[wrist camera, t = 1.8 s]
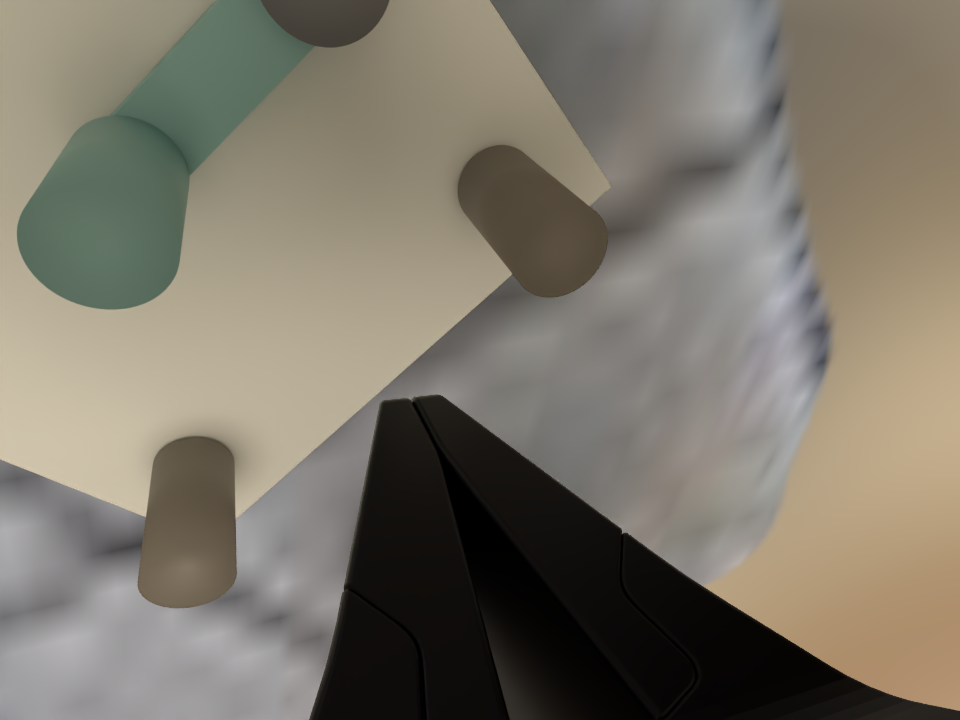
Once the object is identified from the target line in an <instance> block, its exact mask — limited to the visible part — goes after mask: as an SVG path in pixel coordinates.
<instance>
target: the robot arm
mask: <svg viewBox="0 0 960 720" xmlns="http://www.w3.org/2000/svg"><path fill="white" fill-rule="evenodd" d="M309 720H960V711H957V710H952V709H947V708H942V707H937V706H932V705H927V704H923V703H918V702H914V701H910V700H906V699H902V698H899V697H896V696H893V695H890V694H887V693H884V692H882V691H880V690H877V689H875V688H872V687H870V686H867V685H865V684H863V683H861V682H859V681H857V680H855V679H853V678H851V677H849V676H847V675H845V674H843V673H841V672H840V671H838V670H836V669H835V668H833V667H831V666H830V665H828V664H826V663H825V662H823V661H821V660H820V659H818V658H817V657H815V656H813V655H812V654H810V653H809V652H807V651H805V650H804V649H802V648H800V647H799V646H797V645H796V644H794V643H792V642H791V641H789V640H788V639H786V638H784V637H783V636H781V635H779V634H778V633H776V632H775V631H773V630H771V629H770V628H768V627H766V626H765V625H763V624H762V623H760V622H758V621H757V620H755V619H753V618H752V617H750V616H749V615H747V614H745V613H744V612H742V611H741V610H739V609H738V608H736V607H734V606H733V605H731V604H729V603H728V602H726V601H725V600H723V599H722V598H720V597H719V596H717V595H715V594H714V593H712V592H711V591H709V590H708V589H706V588H705V587H703V586H702V585H700V584H698V583H697V582H695V581H694V580H692V579H691V578H689V577H688V576H686V575H685V574H683V573H682V572H680V571H679V570H678V569H676V568H675V567H673V566H672V565H671V564H669V563H668V562H666V561H665V560H664V559H662V558H661V557H659V556H658V555H656V554H655V553H654V552H652V551H651V550H649V549H648V548H647V547H645V546H644V545H643V544H641V543H640V542H639V541H637V540H636V539H635V538H633V537H632V536H631V535H629V534H628V533H623V534H622V530H621V528H619V527H618V526H617V525H615V524H614V523H613V522H611V521H610V520H609V519H607V518H606V517H605V516H603V515H602V514H601V513H599V512H598V511H597V510H595V509H594V508H592V507H591V506H590V505H588V504H587V503H586V502H584V501H583V500H582V499H580V498H579V497H578V496H576V495H575V494H574V493H572V492H571V491H570V490H568V489H567V488H566V487H564V486H563V485H562V484H560V483H559V482H557V481H556V480H555V479H553V478H552V477H551V476H549V475H548V474H547V473H545V472H544V471H543V470H541V469H540V468H539V467H537V466H536V465H535V464H533V463H532V462H531V461H529V460H528V459H527V458H525V457H524V456H522V455H521V454H520V453H518V452H517V451H516V450H514V449H513V448H512V447H510V446H509V445H508V444H506V443H505V442H504V441H502V440H501V439H500V438H498V437H497V436H496V435H494V434H493V433H491V432H490V431H489V430H487V429H486V428H485V427H483V426H482V425H481V424H479V423H478V422H477V421H475V420H474V419H473V418H471V417H470V416H469V415H467V414H466V413H465V412H463V411H462V410H461V409H459V408H458V407H456V406H455V405H454V404H452V403H451V402H450V401H448V400H447V399H446V398H444V397H443V396H441V395H428V396H419V397H414V398H413V399H412V400H410V399H408V398H401V399H392V400H384V401H382V402H381V403H380V406H379V411H378V416H377V421H376V426H375V431H374V436H373V441H372V446H371V452H370V457H369V462H368V467H367V472H366V477H365V482H364V487H363V492H362V497H361V502H360V508H359V513H358V518H357V523H356V528H355V533H354V538H353V543H352V548H351V553H350V558H349V564H348V569H347V574H346V579H345V584H344V592H343V593H342V597H341V602H340V607H339V612H338V618H337V623H336V627H335V631H334V635H333V639H332V644H331V648H330V652H329V656H328V660H327V665H326V668H325V671H324V674H323V677H322V681H321V684H320V687H319V690H318V693H317V697H316V700H315V703H314V706H313V709H312V712H311V716H310V719H309Z"/></svg>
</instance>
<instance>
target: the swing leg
mask: <svg viewBox="0 0 960 720" xmlns="http://www.w3.org/2000/svg"><path fill="white" fill-rule="evenodd" d="M388 3H389V0H215V1H214V2H213V3H212V4H211V5H210V6H209V8H208V9H207V10H206V11H205V12H204V13H203V14H202V15H201V16H200V17H199V18H198V20H197V21H196V22H195V23H194V24H193V25H192V26H191V27H190V28H189V29H188V30H187V32H186V33H185V34H184V35H183V36H182V37H181V38H180V39H179V40H178V41H177V43H176V44H175V45H174V46H173V47H172V48H171V49H170V50H169V51H168V52H167V53H166V55H165V56H164V57H163V58H162V59H161V60H160V61H159V62H158V63H157V64H156V65H155V67H154V68H153V69H152V70H151V71H150V72H149V73H148V74H147V75H146V76H145V77H144V79H143V80H142V81H141V82H140V83H139V84H138V85H137V86H136V87H135V88H134V89H133V91H132V92H131V93H130V94H129V95H128V96H127V97H126V98H125V99H124V100H123V101H122V103H121V104H120V105H119V106H118V107H117V108H116V109H115V110H114V111H113V112H112V113H111V115H110V116H105V117H100V118H96V119H93V120H91V121H89V122H87V123H85V124H84V125H82V126H81V127H80V128H79V129H78V130H77V131H76V132H75V133H74V134H73V136H72V137H71V138H70V140H69V141H68V143H67V144H66V146H65V147H64V149H63V150H62V152H61V153H60V155H59V156H58V158H57V159H56V161H55V162H54V164H53V165H52V167H51V168H50V170H49V171H48V173H47V174H46V176H45V177H44V179H43V180H42V182H41V183H40V185H39V186H38V188H37V189H36V191H35V192H34V194H33V195H32V197H31V198H30V200H29V201H28V203H27V204H26V206H25V207H24V209H23V211H22V213H21V215H20V218H19V221H18V225H17V243H18V247H19V251H20V254H21V256H22V259H23V260H24V262H25V264H26V266H27V267H28V269H29V270H30V271H31V273H32V274H33V275H34V276H35V277H36V278H37V279H38V280H39V281H40V282H41V283H42V284H43V285H44V286H45V287H47V288H48V289H49V290H51V291H52V292H54V293H55V294H57V295H59V296H60V297H62V298H64V299H66V300H69V301H71V302H74V303H76V304H79V305H83V306H86V307H91V308H96V309H106V310H118V309H127V308H132V307H136V306H139V305H142V304H145V303H147V302H149V301H151V300H153V299H154V298H156V297H157V296H159V295H160V294H161V293H163V292H164V291H165V290H166V289H167V288H168V286H169V285H170V284H171V283H172V281H173V279H174V278H175V276H176V273H177V271H178V267H179V263H180V255H181V247H182V239H183V231H184V223H185V215H186V207H187V199H188V191H189V181H190V179H189V176H190V175H191V174H192V173H193V172H194V171H195V170H196V169H197V168H198V167H199V166H200V165H201V164H202V163H203V162H204V161H205V159H206V158H207V157H208V156H209V155H210V154H211V153H212V152H213V151H214V150H215V149H216V148H217V147H218V146H219V145H220V144H221V143H222V142H223V141H224V140H225V139H226V138H227V137H228V136H229V135H230V134H231V133H232V132H233V131H234V129H235V128H236V127H237V126H238V125H239V124H240V123H241V122H242V121H243V120H244V119H245V118H246V117H247V116H248V115H249V114H250V113H251V112H252V111H253V110H254V109H255V108H256V107H257V106H258V105H259V104H260V103H261V102H262V101H263V99H264V98H265V97H266V96H267V95H268V94H269V93H270V92H271V91H272V90H273V89H274V88H275V87H276V86H277V85H278V84H279V83H280V82H281V81H282V80H283V79H284V78H285V77H286V76H287V75H288V74H289V73H290V72H291V71H292V70H293V68H294V67H295V66H296V65H297V64H298V63H299V62H300V61H301V60H302V59H303V58H304V57H305V56H306V55H307V54H308V53H309V52H310V51H311V50H312V49H313V48H314V47H315V46H318V47H325V48H335V47H342V46H346V45H349V44H352V43H354V42H356V41H358V40H360V39H362V38H363V37H365V36H366V35H367V34H368V33H369V32H371V31H372V30H373V29H374V27H375V26H376V25H377V24H378V23H379V21H380V20H381V18H382V16H383V15H384V13H385V11H386V8H387V6H388Z"/></svg>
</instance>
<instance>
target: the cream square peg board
mask: <svg viewBox="0 0 960 720" xmlns="http://www.w3.org/2000/svg"><path fill="white" fill-rule="evenodd" d="M214 1H215V0H0V459H1V460H3V461H6V462H8V463H11V464H13V465H16V466H18V467H21V468H23V469H26V470H28V471H31V472H33V473H36V474H38V475H41V476H44V477H46V478H49V479H51V480H54V481H56V482H59V483H61V484H64V485H66V486H69V487H71V488H74V489H76V490H79V491H81V492H84V493H86V494H89V495H91V496H94V497H96V498H99V499H102V500H104V501H107V502H109V503H112V504H114V505H117V506H119V507H122V508H124V509H127V510H129V511H132V512H134V513H137V514H139V515H142V516H144V517H146V521H145V528H144V536H143V544H142V552H141V560H140V568H139V575H138V589H139V591H140V593H141V595H142V596H143V597H144V598H145V599H147V600H148V601H150V602H152V603H153V604H156V605H159V606H163V607H169V608H189V607H195V606H199V605H203V604H206V603H209V602H211V601H213V600H215V599H217V598H219V597H220V596H222V595H223V594H225V593H226V592H227V591H228V590H229V589H230V588H231V587H232V585H233V584H234V582H235V579H236V575H237V568H236V519H237V518H238V517H239V516H240V515H241V514H242V513H243V512H244V511H246V510H247V509H248V508H249V507H250V506H251V505H252V504H253V503H255V502H256V501H257V500H258V499H259V498H260V497H261V496H263V495H264V494H265V493H266V492H267V491H268V490H269V489H270V488H272V487H273V486H274V485H275V484H276V483H277V482H278V481H279V480H281V479H282V478H283V477H284V476H285V475H286V474H287V473H289V472H290V471H291V470H292V469H293V468H294V467H295V466H296V465H298V464H299V463H300V462H301V461H302V460H303V459H304V458H305V457H307V456H308V455H309V454H310V453H311V452H312V451H313V450H315V449H316V448H317V447H318V446H319V445H320V444H321V443H322V442H324V441H325V440H326V439H327V438H328V437H329V436H330V435H331V434H333V433H334V432H335V431H336V430H337V429H338V428H339V427H340V426H342V425H343V424H344V423H345V422H346V421H347V420H348V419H350V418H351V417H352V416H353V415H354V414H355V413H356V412H357V411H359V410H360V409H361V408H362V407H363V406H364V405H365V404H366V403H368V402H369V401H370V400H371V399H372V398H373V397H374V396H376V395H377V394H378V393H379V392H380V391H381V390H382V389H383V388H385V387H386V386H387V385H388V384H389V383H390V382H391V381H392V380H394V379H395V378H396V377H397V376H398V375H399V374H400V373H401V372H403V371H404V370H405V369H406V368H407V367H408V366H409V365H411V364H412V363H413V362H414V361H415V360H416V359H417V358H418V357H420V356H421V355H422V354H423V353H424V352H425V351H426V350H427V349H429V348H430V347H431V346H432V345H433V344H434V343H435V342H437V341H438V340H439V339H440V338H441V337H442V336H443V335H444V334H446V333H447V332H448V331H449V330H450V329H451V328H452V327H453V326H455V325H456V324H457V323H458V322H459V321H460V320H461V319H462V318H464V317H465V316H466V315H467V314H468V313H469V312H470V311H472V310H473V309H474V308H475V307H476V306H477V305H478V304H479V303H481V302H482V301H483V300H484V299H485V298H486V297H487V296H488V295H490V294H491V293H492V292H493V291H494V290H495V289H496V288H498V287H499V286H500V285H501V284H502V283H503V282H504V281H505V280H507V279H508V278H509V277H510V276H511V275H512V274H513V275H514V277H515V278H516V279H517V280H518V282H519V283H520V284H521V285H522V287H523V288H525V289H526V290H527V291H528V292H530V293H532V294H534V295H537V296H540V297H559V296H563V295H566V294H569V293H571V292H573V291H575V290H577V289H578V288H580V287H581V286H582V285H584V284H585V283H586V282H587V281H588V280H589V279H590V278H591V277H592V276H593V275H594V274H595V272H596V271H597V270H598V268H599V266H600V265H601V263H602V261H603V258H604V256H605V252H606V248H607V230H606V226H605V224H604V221H603V220H602V218H601V217H600V215H599V214H598V213H597V212H596V211H595V210H593V209H592V208H591V207H590V205H591V204H592V203H594V202H595V201H596V200H597V199H598V198H599V197H600V196H601V195H603V194H604V193H605V192H606V191H607V190H608V189H609V188H610V187H611V185H610V184H609V182H608V180H607V179H606V177H605V176H604V174H603V173H602V171H601V170H600V168H599V167H598V165H597V164H596V162H595V161H594V159H593V158H592V156H591V154H590V153H589V151H588V150H587V148H586V147H585V145H584V144H583V142H582V141H581V139H580V138H579V136H578V135H577V133H576V132H575V130H574V128H573V127H572V125H571V124H570V122H569V121H568V119H567V118H566V116H565V115H564V113H563V112H562V110H561V109H560V107H559V106H558V104H557V102H556V101H555V99H554V98H553V96H552V95H551V93H550V92H549V90H548V89H547V87H546V86H545V84H544V83H543V81H542V80H541V78H540V76H539V75H538V73H537V72H536V70H535V69H534V67H533V66H532V64H531V63H530V61H529V60H528V58H527V57H526V55H525V54H524V52H523V50H522V49H521V47H520V46H519V44H518V43H517V41H516V40H515V38H514V37H513V35H512V34H511V32H510V31H509V29H508V28H507V26H506V24H505V23H504V21H503V20H502V18H501V17H500V15H499V14H498V12H497V11H496V9H495V8H494V6H493V5H492V3H491V2H490V0H389V3H388V6H387V8H386V11H385V13H384V15H383V16H382V18H381V20H380V21H379V23H378V24H377V25H376V26H375V27H374V29H373V30H372V31H371V32H369V33H368V34H367V35H366V36H365V37H363V38H362V39H360V40H358V41H356V42H354V43H352V44H349V45H346V46H342V47H335V48H325V47H318V46H315V47H314V48H313V49H312V50H311V51H310V52H309V53H308V54H307V55H306V56H305V57H304V58H303V59H302V60H301V61H300V62H299V63H298V64H297V65H296V66H295V67H294V68H293V70H292V71H291V72H290V73H289V74H288V75H287V76H286V77H285V78H284V79H283V80H282V81H281V82H280V83H279V84H278V85H277V86H276V87H275V88H274V89H273V90H272V91H271V92H270V93H269V94H268V95H267V96H266V97H265V98H264V99H263V101H262V102H261V103H260V104H259V105H258V106H257V107H256V108H255V109H254V110H253V111H252V112H251V113H250V114H249V115H248V116H247V117H246V118H245V119H244V120H243V121H242V122H241V123H240V124H239V125H238V126H237V127H236V128H235V129H234V131H233V132H232V133H231V134H230V135H229V136H228V137H227V138H226V139H225V140H224V141H223V142H222V143H221V144H220V145H219V146H218V147H217V148H216V149H215V150H214V151H213V152H212V153H211V154H210V155H209V156H208V157H207V158H206V159H205V161H204V162H203V163H202V164H201V165H200V166H199V167H198V168H197V169H196V170H195V171H194V172H193V173H192V174H191V175H190V176H189V179H190V181H189V191H188V199H187V207H186V215H185V223H184V231H183V239H182V247H181V255H180V263H179V267H178V271H177V273H176V276H175V278H174V279H173V281H172V283H171V284H170V285H169V286H168V288H167V289H166V290H165V291H164V292H163V293H161V294H160V295H159V296H157V297H156V298H154V299H153V300H151V301H149V302H147V303H145V304H142V305H139V306H136V307H132V308H127V309H118V310H106V309H96V308H91V307H86V306H83V305H79V304H76V303H74V302H71V301H69V300H66V299H64V298H62V297H60V296H59V295H57V294H55V293H54V292H52V291H51V290H49V289H48V288H47V287H45V286H44V285H43V284H42V283H41V282H40V281H39V280H38V279H37V278H36V277H35V276H34V275H33V274H32V273H31V271H30V270H29V269H28V267H27V266H26V264H25V262H24V260H23V259H22V256H21V254H20V251H19V247H18V243H17V225H18V221H19V218H20V215H21V213H22V211H23V209H24V207H25V206H26V204H27V203H28V201H29V200H30V198H31V197H32V195H33V194H34V192H35V191H36V189H37V188H38V186H39V185H40V183H41V182H42V180H43V179H44V177H45V176H46V174H47V173H48V171H49V170H50V168H51V167H52V165H53V164H54V162H55V161H56V159H57V158H58V156H59V155H60V153H61V152H62V150H63V149H64V147H65V146H66V144H67V143H68V141H69V140H70V138H71V137H72V136H73V134H74V133H75V132H76V131H77V130H78V129H79V128H80V127H81V126H82V125H84V124H85V123H87V122H89V121H91V120H93V119H96V118H100V117H105V116H110V115H111V113H112V112H113V111H114V110H115V109H116V108H117V107H118V106H119V105H120V104H121V103H122V101H123V100H124V99H125V98H126V97H127V96H128V95H129V94H130V93H131V92H132V91H133V89H134V88H135V87H136V86H137V85H138V84H139V83H140V82H141V81H142V80H143V79H144V77H145V76H146V75H147V74H148V73H149V72H150V71H151V70H152V69H153V68H154V67H155V65H156V64H157V63H158V62H159V61H160V60H161V59H162V58H163V57H164V56H165V55H166V53H167V52H168V51H169V50H170V49H171V48H172V47H173V46H174V45H175V44H176V43H177V41H178V40H179V39H180V38H181V37H182V36H183V35H184V34H185V33H186V32H187V30H188V29H189V28H190V27H191V26H192V25H193V24H194V23H195V22H196V21H197V20H198V18H199V17H200V16H201V15H202V14H203V13H204V12H205V11H206V10H207V9H208V8H209V6H210V5H211V4H212V3H213V2H214Z"/></svg>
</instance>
